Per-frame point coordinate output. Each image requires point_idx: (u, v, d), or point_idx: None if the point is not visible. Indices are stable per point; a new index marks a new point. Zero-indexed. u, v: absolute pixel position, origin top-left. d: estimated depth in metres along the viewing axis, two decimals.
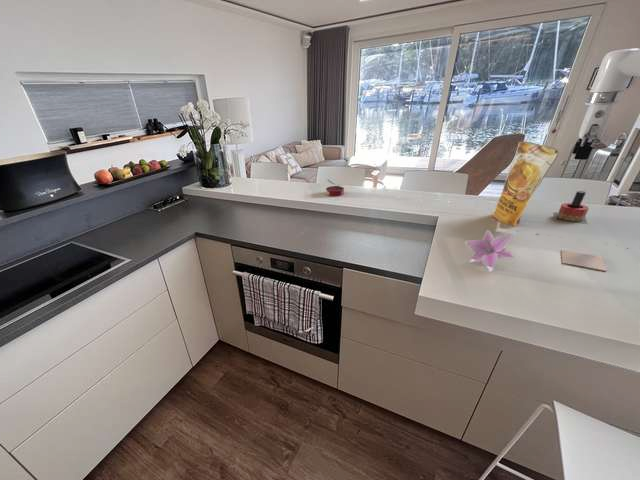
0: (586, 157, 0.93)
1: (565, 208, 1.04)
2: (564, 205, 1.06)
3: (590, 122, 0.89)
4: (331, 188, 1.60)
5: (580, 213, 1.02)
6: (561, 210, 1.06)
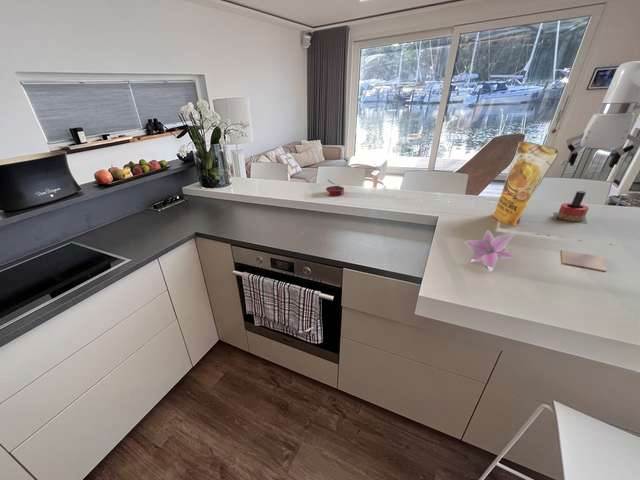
0: None
1: (565, 208, 1.04)
2: (564, 205, 1.06)
3: None
4: (331, 188, 1.60)
5: (580, 213, 1.02)
6: (561, 210, 1.06)
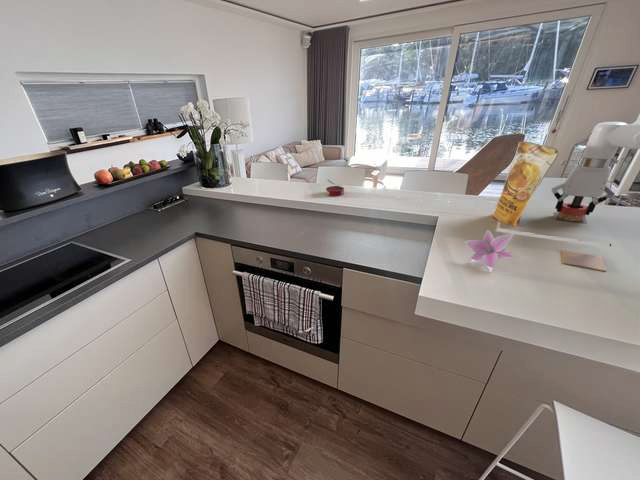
0: None
1: (565, 208, 1.04)
2: (564, 205, 1.06)
3: None
4: (331, 188, 1.60)
5: (580, 213, 1.02)
6: (561, 210, 1.06)
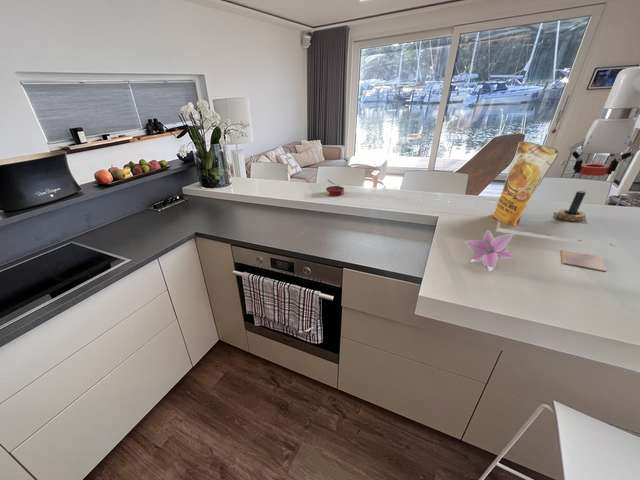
0: None
1: (584, 168, 0.96)
2: (583, 165, 0.98)
3: (630, 136, 0.88)
4: (331, 188, 1.60)
5: (601, 172, 0.94)
6: (580, 171, 0.98)
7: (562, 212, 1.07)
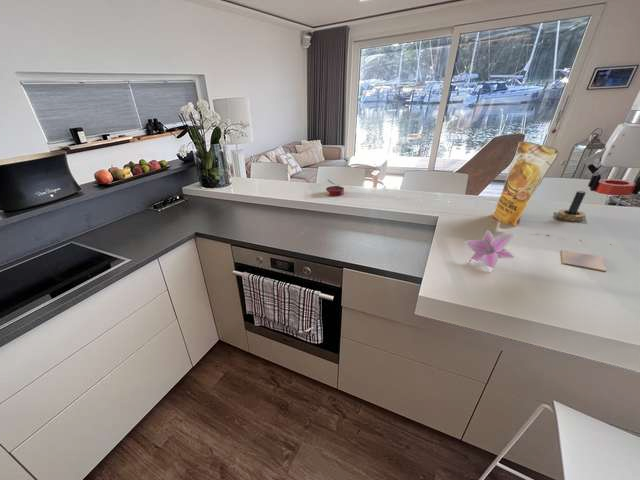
0: None
1: (603, 185, 0.76)
2: (601, 181, 0.77)
3: None
4: (331, 188, 1.60)
5: (625, 191, 0.74)
6: (597, 188, 0.78)
7: (562, 212, 1.07)
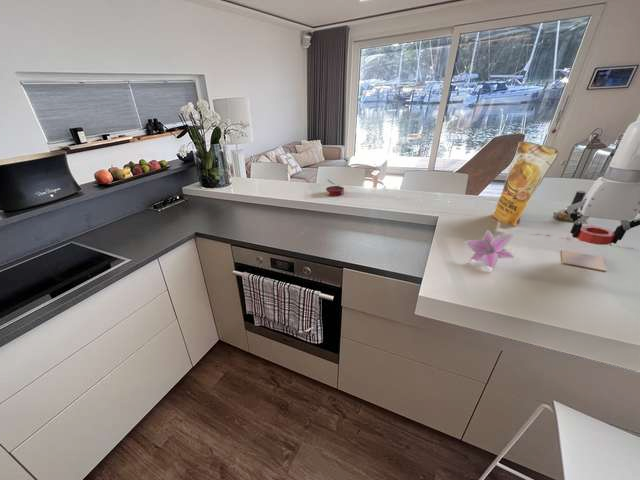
0: None
1: (584, 233, 0.79)
2: (583, 229, 0.81)
3: None
4: (331, 188, 1.60)
5: (605, 241, 0.77)
6: (579, 236, 0.81)
7: (562, 212, 1.07)
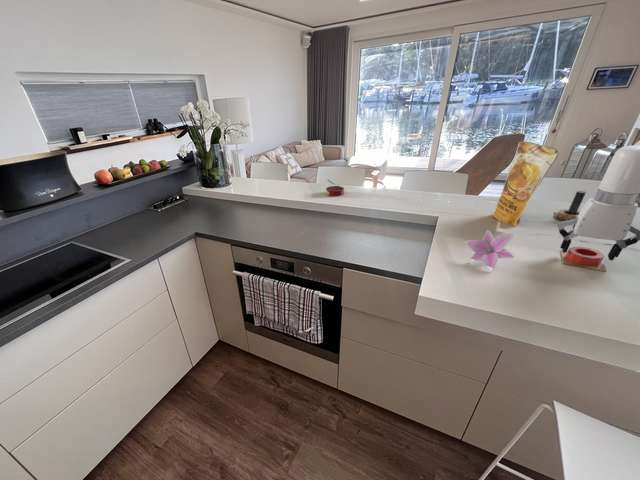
0: None
1: (574, 255, 0.83)
2: (572, 250, 0.84)
3: None
4: (331, 188, 1.60)
5: (593, 262, 0.80)
6: (569, 256, 0.84)
7: (562, 212, 1.07)
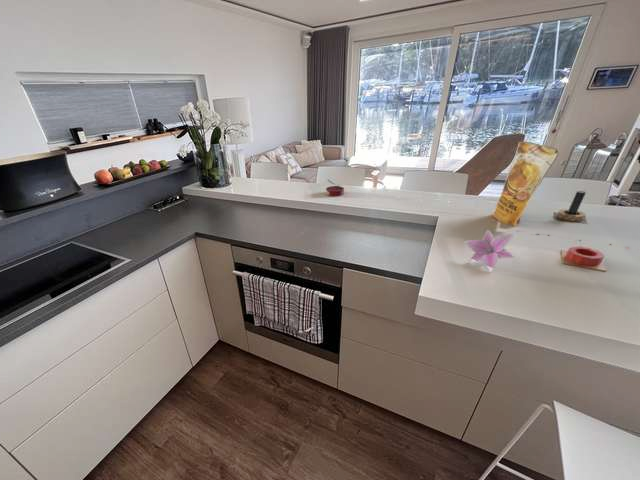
0: None
1: (574, 255, 0.83)
2: (572, 250, 0.84)
3: None
4: (331, 188, 1.60)
5: (593, 262, 0.80)
6: (569, 256, 0.84)
7: (562, 212, 1.07)
